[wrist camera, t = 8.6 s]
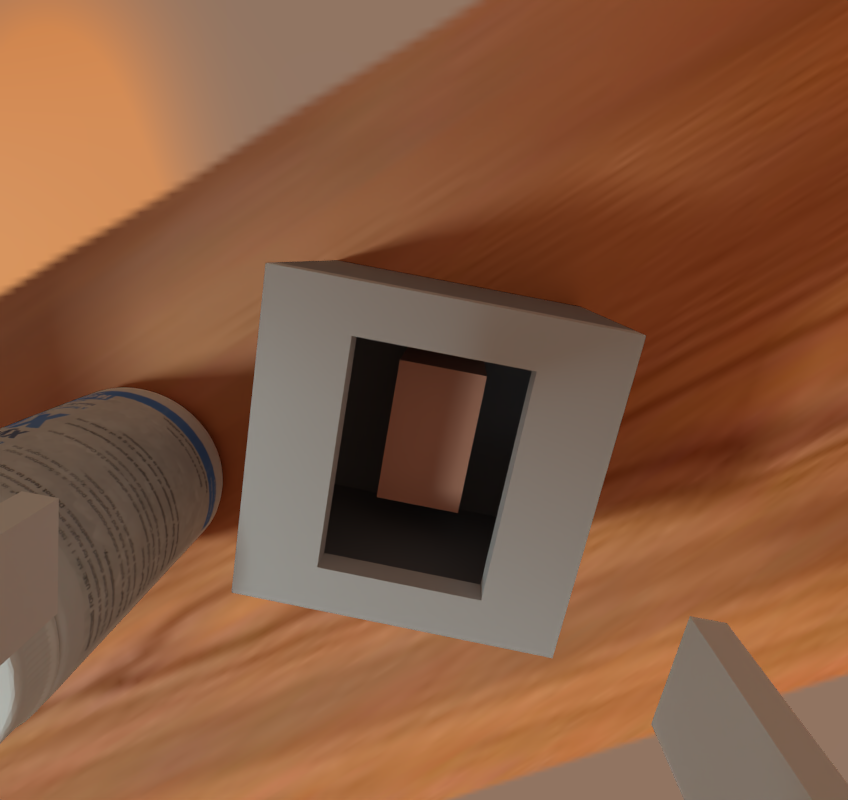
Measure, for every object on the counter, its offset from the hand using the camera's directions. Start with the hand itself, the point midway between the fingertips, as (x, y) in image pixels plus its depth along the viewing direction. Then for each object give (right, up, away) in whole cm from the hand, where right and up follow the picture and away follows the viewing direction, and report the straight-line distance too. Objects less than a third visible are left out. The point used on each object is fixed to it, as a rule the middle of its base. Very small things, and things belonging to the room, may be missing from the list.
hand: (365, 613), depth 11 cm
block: (+2, +4, +16) cm, 17 cm away
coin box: (+2, +4, +17) cm, 18 cm away
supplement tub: (-14, +1, +19) cm, 24 cm away
